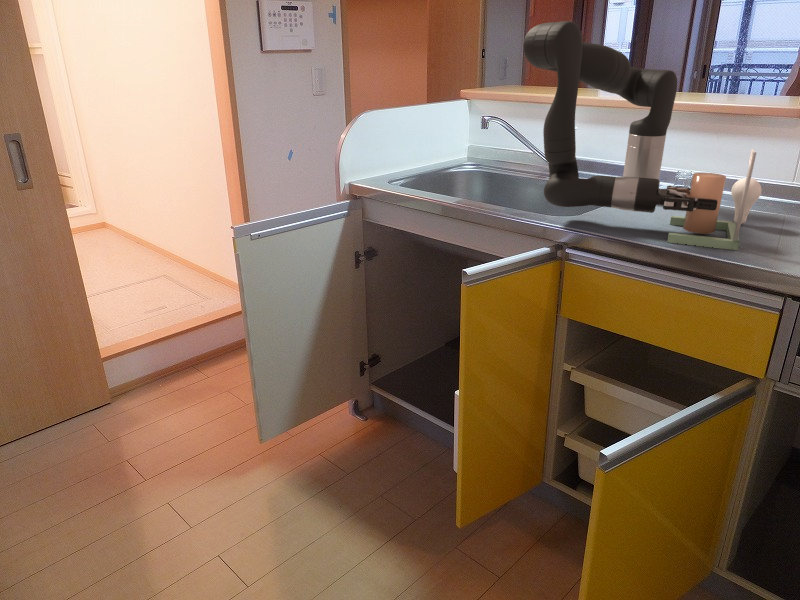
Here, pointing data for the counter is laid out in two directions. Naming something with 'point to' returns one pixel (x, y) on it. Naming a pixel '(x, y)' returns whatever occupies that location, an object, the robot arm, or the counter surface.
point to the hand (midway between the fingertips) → (716, 201)
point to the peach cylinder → (706, 189)
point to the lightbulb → (751, 198)
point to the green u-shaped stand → (729, 226)
